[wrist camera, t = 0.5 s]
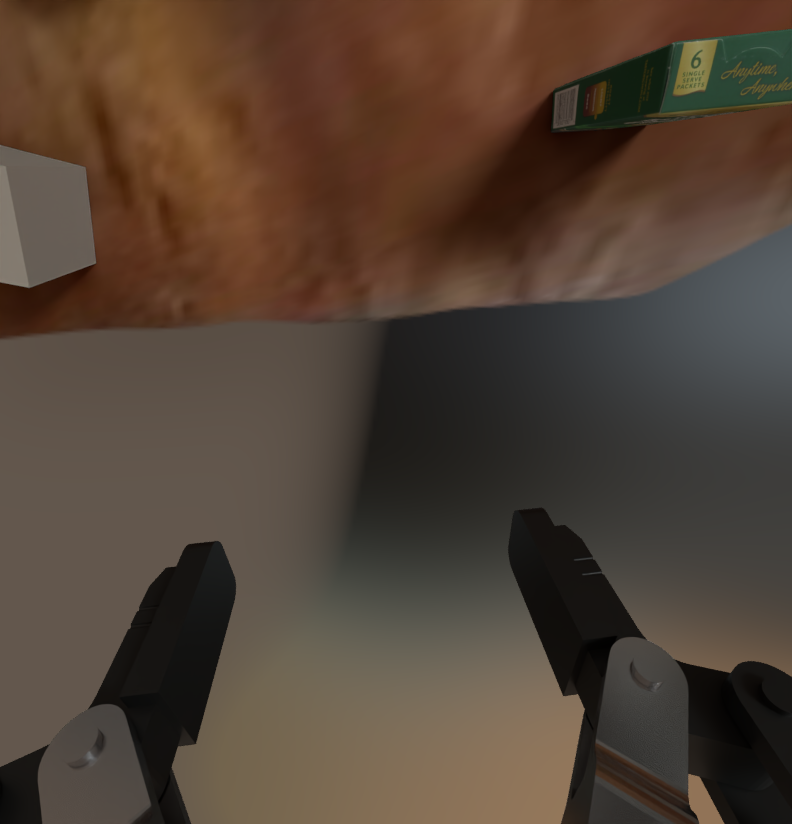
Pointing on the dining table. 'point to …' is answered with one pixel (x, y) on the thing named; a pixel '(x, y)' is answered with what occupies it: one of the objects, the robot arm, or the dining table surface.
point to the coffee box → (681, 83)
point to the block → (42, 218)
